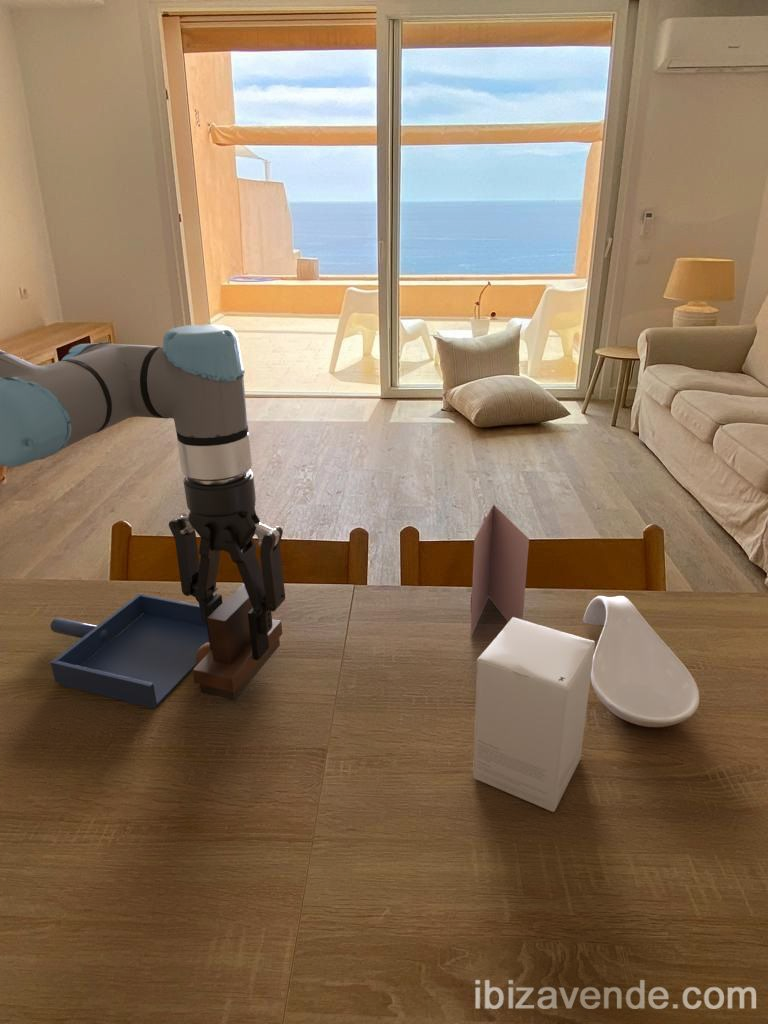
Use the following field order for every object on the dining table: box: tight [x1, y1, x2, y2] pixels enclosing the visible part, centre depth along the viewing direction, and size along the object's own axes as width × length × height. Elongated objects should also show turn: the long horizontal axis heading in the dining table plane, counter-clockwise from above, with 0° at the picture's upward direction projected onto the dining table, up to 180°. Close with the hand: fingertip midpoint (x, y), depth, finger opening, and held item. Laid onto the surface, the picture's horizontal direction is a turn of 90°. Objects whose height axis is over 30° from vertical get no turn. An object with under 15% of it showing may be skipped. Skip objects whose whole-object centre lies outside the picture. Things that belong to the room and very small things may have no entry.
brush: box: [192, 583, 283, 701], centre depth 84 cm, size 5×12×10 cm, turn 161°
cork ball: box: [196, 642, 211, 666], centre depth 88 cm, size 4×4×4 cm
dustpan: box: [50, 593, 209, 710], centre depth 92 cm, size 23×17×3 cm
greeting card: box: [469, 503, 530, 638], centre depth 95 cm, size 11×7×15 cm, turn 160°
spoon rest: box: [582, 595, 700, 728], centre depth 85 cm, size 24×12×7 cm, turn 0°
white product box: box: [472, 617, 596, 813], centre depth 70 cm, size 9×9×15 cm
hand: (239, 648), depth 85 cm, fingers closed on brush, 5 cm apart
